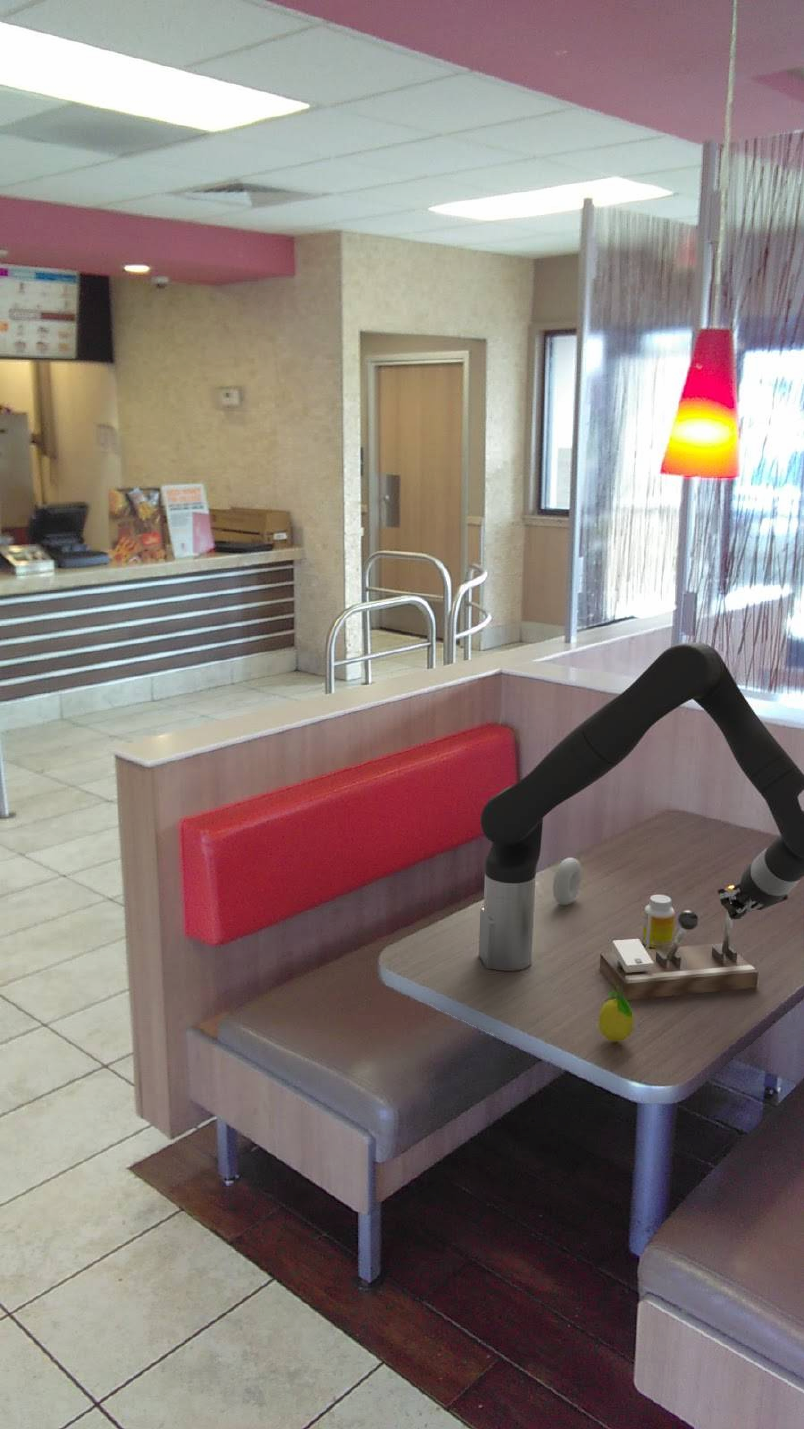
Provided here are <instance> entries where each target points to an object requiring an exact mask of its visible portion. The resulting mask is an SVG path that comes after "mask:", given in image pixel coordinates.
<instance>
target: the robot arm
mask: <svg viewBox="0 0 804 1429" xmlns="http://www.w3.org/2000/svg"><path fill="white" fill-rule="evenodd" d="M692 700H693V701H694V702H696V704H698V705H699V707H701V708H702V709H703V710H704V711H705V713H706V714H708V715H709V717H710V718H711V719H712V720H713V721H714V722H715V724H716V726H717V727H718V728H719V730H720V731H721V733H722V736H723V737H724V739H725V741H726V742H727V744H728V747H729V748H730V751H731V753H732V755H733V758H734V759H735V761H736V762H737V765H738V766H739V768H740V769H741V770H742V772H743V774H744V775H745V776H746V778H747V779H748V780H749V782H751V784H752V785H753V787H755V789H756V790H757V792H758V793H759V794H760V795H761V796H762V797H763V799H764V801H765V802H766V804H767V806H768V808H769V811H770V814H771V815H772V817H773V820H774V822H775V824H776V826H777V829H778V832H779V833H780V835H779V836H777V838H775V840H773V841H772V843H770V844H769V846H768V847H766V848H765V849H763V850H762V851H761V852H760V853H759V854H758V856H756V857H755V858H754V860H752V862H751V863H750V864H749V865H748V866H747V867H746V868H745V869H744V871H743V873H742V875H741V879H740V881H739V883H737V884H735V885H733V886H734V887H733V890H731V891H729V890H725V889H726V888H720V889H717V894H718V897H719V901H720V904H721V906H722V907H723V908H724V909H725V910H727V911H728V914H729V917H730V918H731V919H732V920H733V921H734V920H740V919H742V918H743V917H744V916H745V915H746V914H748V913H751V912H752V911H754V910H757V911H762V910H764V909H767V908H769V907H771V906H774V905H777V904H779V903H782V902H784V901H788V900H789V897H788V894H789V893H790V892H791V891H792V890H794V889H795V887H796V886H797V885H798V884H799V883H800V882H801V880H802V878H803V877H804V810H803V809H802V806H801V804H800V802H799V801H800V800H799V796H800V795H801V794H802V792H803V791H804V773H803V771H802V770H801V769H800V768H799V767H798V765H797V764H796V763H795V761H794V760H793V759H792V758H791V757H790V756H789V755H788V753H787V751H785V749H784V748H783V747H782V746H781V744H780V743H779V742H778V741H777V740H776V738H775V737H774V736H773V735H772V733H771V732H770V731H769V730H768V728H767V727H766V725H764V723H763V722H762V721H761V719H760V717H759V716H758V715H757V714H756V712H755V711H754V710H753V708H752V707H751V705H750V702H748V701H747V699H746V697H745V696H744V694H743V693H742V691H741V689H740V688H739V686H738V684H737V682H736V681H735V679H734V678H733V676H732V673H731V672H730V670H729V668H728V667H727V665H726V663H725V662H724V660H723V658H722V656H721V655H720V653H719V652H718V651H717V650H716V649H715V648H714V647H712V646H711V645H709V644H707V643H703V642H697V641H696V642H694V641H692V642H681V643H676V644H674V645H672V646H669V647H668V648H667V649H666V650H664V651H663V652H662V653H660V655H659V656H658V657H657V658H656V659H655V660H654V661H653V662H652V663H651V664H650V665H649V666H648V667H647V668H646V669H645V671H643V672H642V674H641V675H640V676H638V677H637V679H635V680H634V682H633V683H632V684H630V686H629V687H627V688H626V689H625V690H624V691H623V692H621V693H620V694H619V695H617V696H616V697H614V698H613V699H612V700H609V701H608V702H607V703H606V704H605V705H603V706H602V707H600V708H599V709H598V710H596V712H594V713H592V715H590V716H588V717H587V718H586V719H585V720H584V721H582V722H581V723H580V724H579V725H578V726H576V727H575V728H574V729H573V730H572V731H571V732H569V733H568V734H566V736H564V738H563V739H562V740H561V741H560V742H559V743H557V745H555V746H554V747H553V748H552V749H551V751H549V753H548V754H546V755H545V757H543V759H542V760H541V761H540V762H539V763H538V764H537V765H536V766H535V767H534V768H533V769H532V771H530V772H529V773H528V774H527V775H525V777H523V778H521V779H520V780H519V781H517V783H515V784H513V785H511V786H508V787H505V788H504V789H502V790H501V791H500V792H498V793H497V794H496V795H493V796H492V797H491V798H490V799H489V800H488V801H487V802H486V803H485V805H484V806H483V809H482V811H481V814H480V829H481V832H482V834H483V835H484V837H485V838H486V839H487V840H488V841H490V842H492V843H491V847H490V850H489V852H488V854H487V856H486V858H485V865H484V888H483V889H484V892H483V893H484V894H483V907H481V908H480V911H479V937H478V939H479V941H478V956H479V958H480V959H481V961H482V962H483V964H484V966H485V967H486V969H487V970H498V971H505V972H515V971H521V970H525V969H526V968H528V967H530V965H531V963H532V960H533V959H532V958H533V957H532V956H533V940H534V939H533V936H534V916H535V914H534V913H535V894H536V893H535V892H536V873H537V866H538V862H539V859H540V855H541V847H542V837H543V827H544V826H543V825H544V824H543V823H544V822H543V821H544V818H545V816H547V815H548V814H549V813H550V812H551V811H552V810H553V809H555V808H556V807H557V806H559V805H560V804H562V803H564V802H565V801H567V800H569V799H570V798H571V797H574V796H575V795H577V794H578V793H580V792H582V791H583V790H585V789H586V788H588V787H589V786H590V785H591V786H592V784H593V783H595V782H597V781H598V780H599V779H601V778H602V777H604V776H605V775H606V774H608V773H609V772H611V771H612V769H614V768H615V767H616V766H618V765H619V764H620V763H621V762H623V761H624V760H625V759H626V758H627V757H628V756H629V755H630V754H631V752H633V750H634V749H635V748H636V747H637V746H638V744H639V742H640V741H641V740H642V738H643V737H644V736H645V734H646V733H647V732H648V731H649V730H650V728H651V727H653V725H655V724H656V723H657V722H658V721H660V720H661V719H663V718H664V717H665V716H666V715H668V714H670V713H671V712H672V711H674V710H675V709H677V708H679V707H680V706H681V705H684V704H686V703H687V702H689V701H692ZM733 898H734V899H733Z"/></svg>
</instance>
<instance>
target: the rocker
mask: <svg viewBox="0 0 804 1429" xmlns="http://www.w3.org/2000/svg"><path fill="white" fill-rule="evenodd" d="M611 950H612V952H614V953H615V955H616V957H617V959H618V960H619V962H620V964H621V965H622V967H623V969H624V971H625V972H626V973H628V972H640V971H651V970H652V969H653V964H654V963H653V961H652V960H651V958H650V956H649V955H648V953H647V952H646V949H645V948H644V947H643V942H641V940H640V939H639V938H631V939H630V938H629V939H620V940H618V939H617V940H612V943H611Z"/></svg>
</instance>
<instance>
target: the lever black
mask: <svg viewBox="0 0 804 1429" xmlns="http://www.w3.org/2000/svg"><path fill="white" fill-rule="evenodd" d="M677 922H678V924H679V927H680V928H679V930H678V932H677V934H676V935H675V938H674V940H673V941H672V946H671V948H670V950H669V952H668V954H667V956H666V958H667V961H672V960H673V958H674V956H675V954H676V952H677V950H678V948H679V947H681V946H680V945H681V944H682V941H683V939H684V937H685V935H686V933H687V931H691V930H694V929H695V928H696V927H697V926H698V923H699V917H698V915H697V913H696V912H694V911H693V910H691V909H686V910H685V909H684V910H682V911H681V912H680V913H679V914H678V916H677Z"/></svg>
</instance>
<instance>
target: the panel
mask: <svg viewBox="0 0 804 1429" xmlns="http://www.w3.org/2000/svg"><path fill="white" fill-rule="evenodd" d="M722 945H723V942H721V943H720V942H719V943H709V944H699V945H698V944H697V945H685V946H679V948H678V950H677V952H676V954H675V956H674V958H673V960H672V961H667V958H666V956H667V954H668V952H669V950H670V948H659V949H647V950H646V949H645V950H646V952H647V953H648V955H649V956H650V958H651V960H652V961H653V963H654V964H653V969H652V970H651V971H640V972H628V973H626V972H625V971H624V969H623V967H622V965H621V964H620V962H619V960H618V959H617V957H616V955H615V953H614V952H613V951H611V952H604V953H603V952H600V958H599V970H600V971H601V970H602V971H601V973H603V974H604V977H606V978H607V979H608V981H609V982H610V983H611V984H612V985H613V986H614V988H615V990H617V986H619V992H620V994H621V995H623V996H624V997H625V998H626V999H627V1001H628V1000H637V999H648V998H649V999H651V998H658V997H670V996H671V997H672V996H678V995H679V996H681V995H682V996H683V995H693V994H703V993H715V992H724V991H735V990H744V989H745V990H746V989H756V988H758V979H759V978H758V977H759V972H758V970H756V968H755V967H754V966H753V965H752V964H750V963H749V962H747V961H746V960H745V958H743V957H742V956H741V955H740V954H739V953H738V952H737V951H736V950H735V949H734V948H733V947H732V946H731V945H729V951H728V954H724V953H723V952H722Z"/></svg>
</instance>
